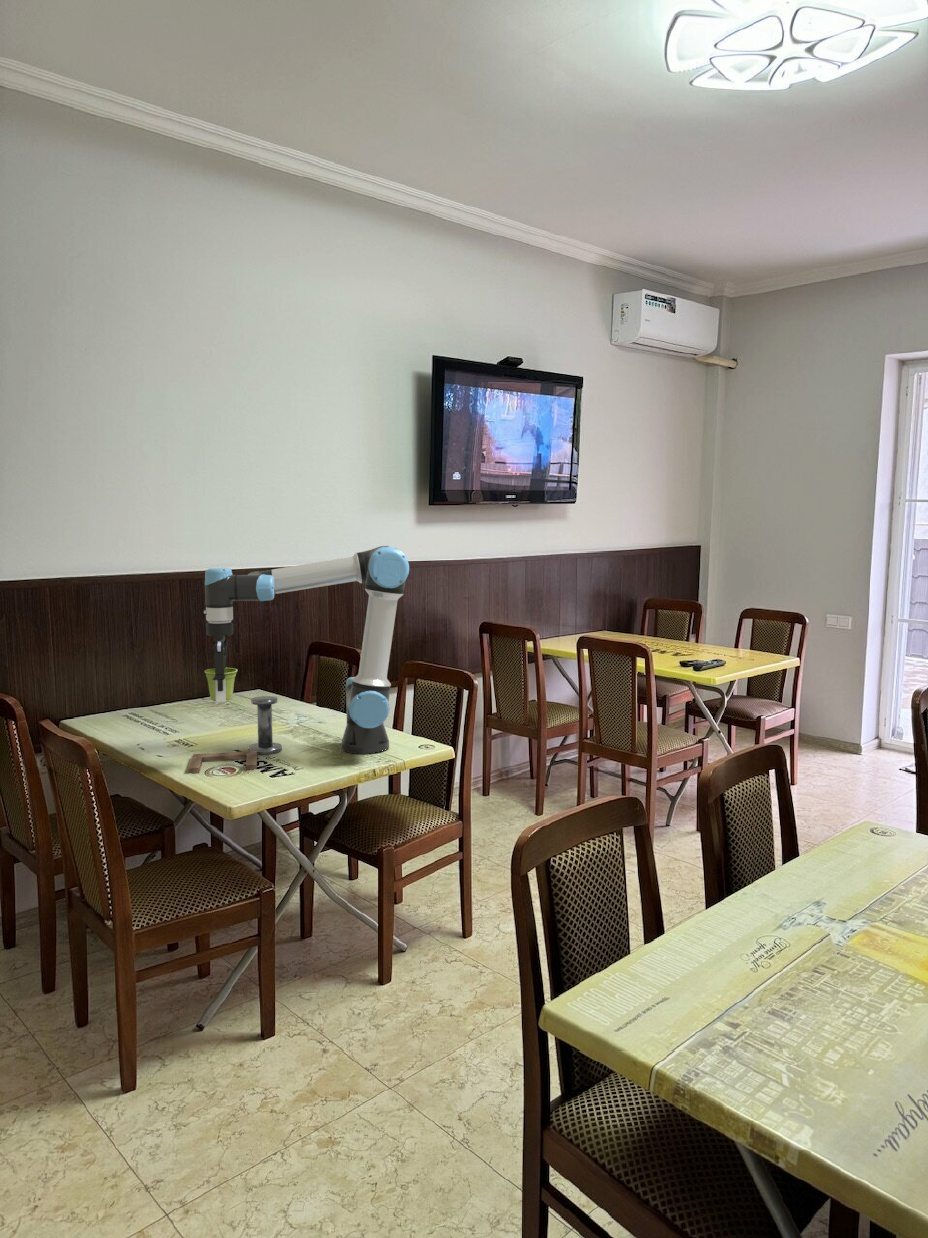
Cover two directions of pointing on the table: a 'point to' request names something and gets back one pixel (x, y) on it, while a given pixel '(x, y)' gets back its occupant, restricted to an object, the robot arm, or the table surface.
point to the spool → (265, 726)
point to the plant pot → (229, 682)
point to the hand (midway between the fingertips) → (221, 698)
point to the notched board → (223, 759)
